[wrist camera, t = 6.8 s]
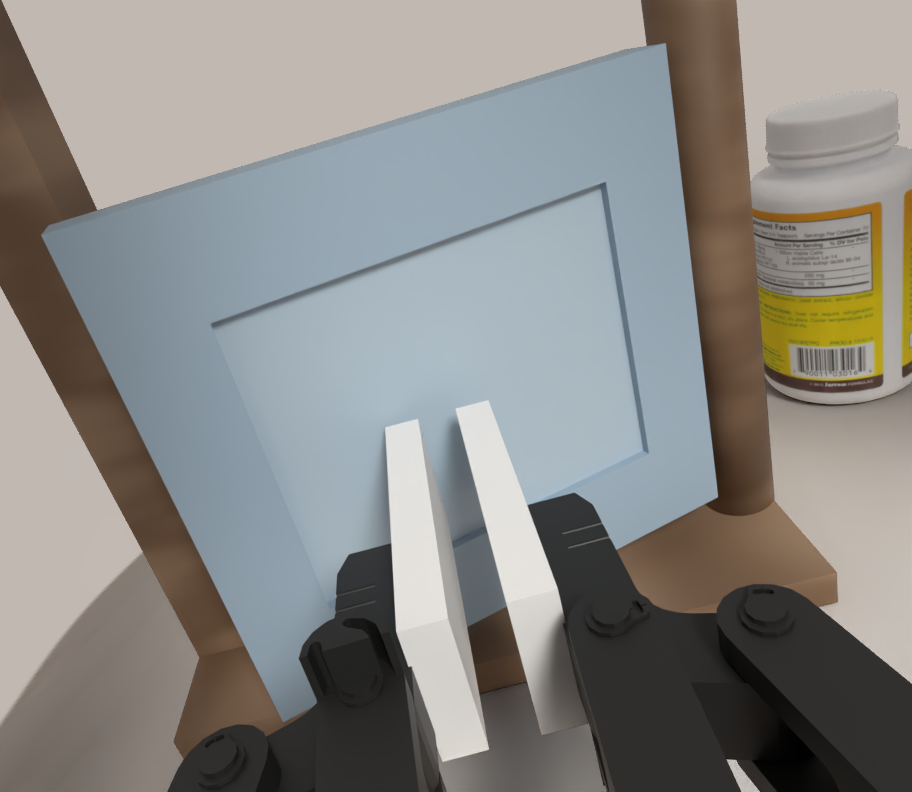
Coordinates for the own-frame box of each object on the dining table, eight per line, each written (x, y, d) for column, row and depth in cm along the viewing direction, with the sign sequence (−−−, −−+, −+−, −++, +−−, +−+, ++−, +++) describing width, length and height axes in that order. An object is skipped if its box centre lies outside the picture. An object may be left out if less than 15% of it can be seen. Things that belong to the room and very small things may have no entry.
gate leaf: (683, 475, 22) (624, 49, 17) (718, 497, 21) (666, 43, 16) (272, 681, 19) (48, 225, 14) (283, 722, 18) (41, 235, 13)
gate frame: (719, 451, 27) (631, -348, 17) (845, 600, 19) (809, -640, 10) (241, 576, 27) (-96, -137, 18) (188, 767, 20) (-430, -269, 10)
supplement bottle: (859, 333, 32) (856, 80, 27) (958, 382, 27) (972, 83, 22) (735, 370, 32) (712, 122, 27) (812, 427, 27) (797, 133, 22)
